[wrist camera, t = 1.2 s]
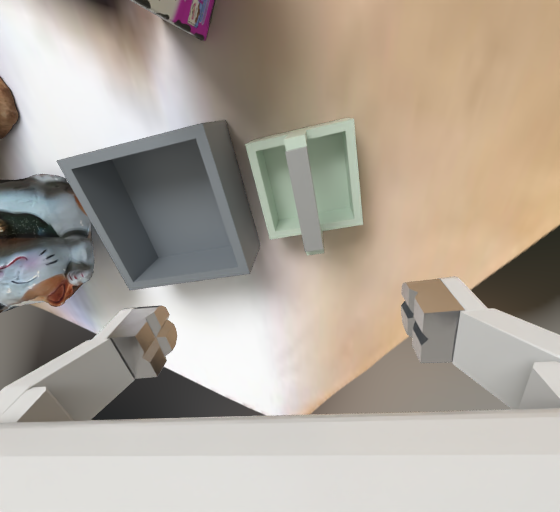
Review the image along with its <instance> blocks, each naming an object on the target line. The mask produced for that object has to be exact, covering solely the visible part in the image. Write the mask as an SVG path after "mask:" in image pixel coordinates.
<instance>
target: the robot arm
mask: <svg viewBox="0 0 560 512" xmlns="http://www.w3.org/2000/svg"><path fill="white" fill-rule="evenodd" d="M402 296H403V297H404V299H405V301H404V303H403V304H402V305H401V315H402V322H403V325H404V328H405V331H406V333H407V335H409V336H410V337H412V338H413V339H412V346H413V348H414V350H415V353H416V355H417V357H418V359H419V361H420V363H441V362H453V364H454V365H455V366H456V367H457V368H459V369H460V370H462V371H463V372H464V373H465V374H467V375H468V376H470V378H472V379H473V380H474V381H476V382H477V383H478V384H480V385H481V386H482V387H483V388H485V389H486V390H487V391H489V392H490V393H491V394H493V395H494V396H495V397H497V398H498V399H499V400H500V401H502V402H503V403H504V404H506V405H507V406H508V407H510V408H511V409H509V410H472V411H471V410H470V411H436V412H435V411H432V412H396V413H357V414H356V413H355V414H317V415H277V416H240V417H202V418H166V419H165V418H163V419H127V420H126V419H125V420H91V419H92V418H93V417H94V416H95V415H96V414H97V413H98V412H100V411H101V410H102V409H103V408H104V407H105V406H106V405H107V404H108V403H110V402H111V401H112V400H113V399H114V398H115V397H116V396H117V395H118V394H119V393H121V392H122V391H123V390H124V389H125V388H126V387H127V386H128V385H129V384H131V383H132V382H133V381H134V379H137V378H149V377H157V376H158V375H159V373H160V371H161V370H162V368H163V366H164V365H165V363H166V361H167V360H166V355H167V354H169V353H170V352H171V351H172V350H173V348H174V347H175V345H176V340H177V332H176V328H175V326H174V324H173V323H171V322H170V321H169V320H168V318H169V313H168V311H167V309H166V307H164V306H149V307H137V308H126V309H122V310H120V311H119V312H118V313H117V314H116V315H115V316H114V317H113V318H112V319H111V320H110V321H109V323H108V324H107V325H106V326H105V327H104V328H103V329H102V330H101V331H100V332H99V333H98V334H97V335H96V336H95V337H94V338H93V339H92V340H88V341H86V342H84V343H82V344H81V345H79V346H77V347H75V348H73V349H72V350H70V351H68V352H66V353H64V354H63V355H61V356H60V357H58V358H56V359H54V360H52V361H50V362H49V363H47V364H46V365H43V366H41V367H40V368H38V369H36V370H34V371H33V372H31V373H29V374H27V375H26V376H24V377H22V378H20V379H19V380H17V381H15V382H13V383H11V384H10V385H8V386H6V387H5V388H3V389H2V390H1V391H0V512H560V335H558V334H556V333H553V332H551V331H548V330H546V329H543V328H541V327H539V326H536V325H534V324H531V323H529V322H526V321H524V320H521V319H519V318H516V317H514V316H511V315H509V314H506V313H504V312H501V311H499V310H497V309H488V308H487V307H486V306H485V305H484V304H483V303H482V302H481V301H480V300H479V299H478V298H477V297H476V296H475V295H474V294H473V293H472V291H471V290H470V289H469V288H468V287H467V286H466V285H465V284H464V283H463V282H462V281H461V280H460V279H459V278H458V277H455V276H454V277H446V278H438V279H432V280H423V281H414V282H405V283H403V285H402Z"/></svg>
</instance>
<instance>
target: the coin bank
mask: <svg viewBox="0 0 560 512" xmlns="http://www.w3.org/2000/svg"><path fill="white" fill-rule="evenodd" d="M17 120H18V112H17V109H16V107H15V102H14V99H13V96H12V94H11V91H10V89H9V88H8V87H7V86H6V84H5V83H4V82H3V81H2V79H1V78H0V139H2V138H4V137H5V136H6V135H7V134H8V132H9V131H10V130H11V129H12V126H13V124H15V123H16V122H17Z"/></svg>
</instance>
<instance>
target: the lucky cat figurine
mask: <svg viewBox="0 0 560 512" xmlns="http://www.w3.org/2000/svg"><path fill="white" fill-rule="evenodd" d="M92 244H93V243H92V237H91V221H90V219H89V218H88V216H87V214H86V212H85V211H84V209H83V207H82V205H81V203H80V202H79V200H78V198H77V196H76V195H75V193H74V191H73V189H72V188H71V186H70V184H69V183H67V180H66V178H63V177H60V176H56V175H48V174H39V175H37V174H36V175H33V176H30V177H28V178H25V179H19V180H0V313H1V312H4V311H8V310H10V309H13V308H15V307H19V306H21V305H23V304H32V303H41V302H47V303H49V304H50V305H51V306H55V307H57V306H61V305H62V304H64V303H65V300H67V299H68V298H70V297H71V296H72V295H73V294H74V293H75V291H76V290H77V289H78V288H79V287H80V286H81V285H82V284H83V283H85V282H87V281H88V280H89V279H90V278H91V276H92V274H93V269H94V255H93V246H92Z"/></svg>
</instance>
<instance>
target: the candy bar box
mask: <svg viewBox="0 0 560 512" xmlns="http://www.w3.org/2000/svg"><path fill="white" fill-rule="evenodd" d="M131 1H132V2H134V3H136V4H138V5H139V6H141V7H143V8H145V9H146V10H148V11H150V12H152V13H153V14H155V15H157V16H158V17H160V18H162V19H164V20H165V21H167V22H169V23H171V24H172V25H174V26H176V27H178V28H180V29H182V30H183V31H185V32H187V33H189V34H191V35H193V36H195V37H197V38H198V39H200V40H203V41H205V40H206V37H207V33H208V28H209V24H210V20H211V16H212V11H213V7H214V4H215V0H131Z"/></svg>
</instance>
